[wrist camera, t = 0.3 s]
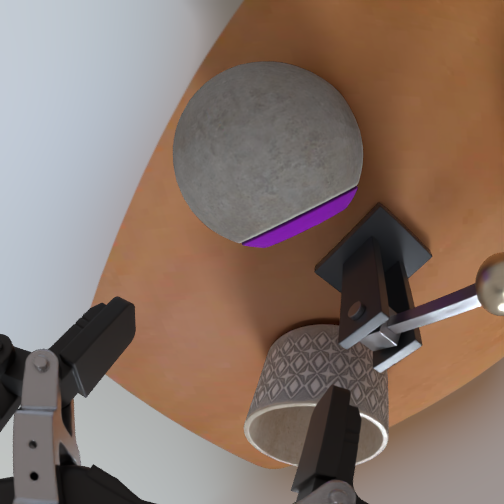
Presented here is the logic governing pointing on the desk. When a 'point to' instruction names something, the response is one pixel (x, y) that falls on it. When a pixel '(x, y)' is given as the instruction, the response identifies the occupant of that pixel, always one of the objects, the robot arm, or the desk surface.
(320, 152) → the webcam
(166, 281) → the desk surface
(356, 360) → the planter
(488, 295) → the lever
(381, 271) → the switch bracket
